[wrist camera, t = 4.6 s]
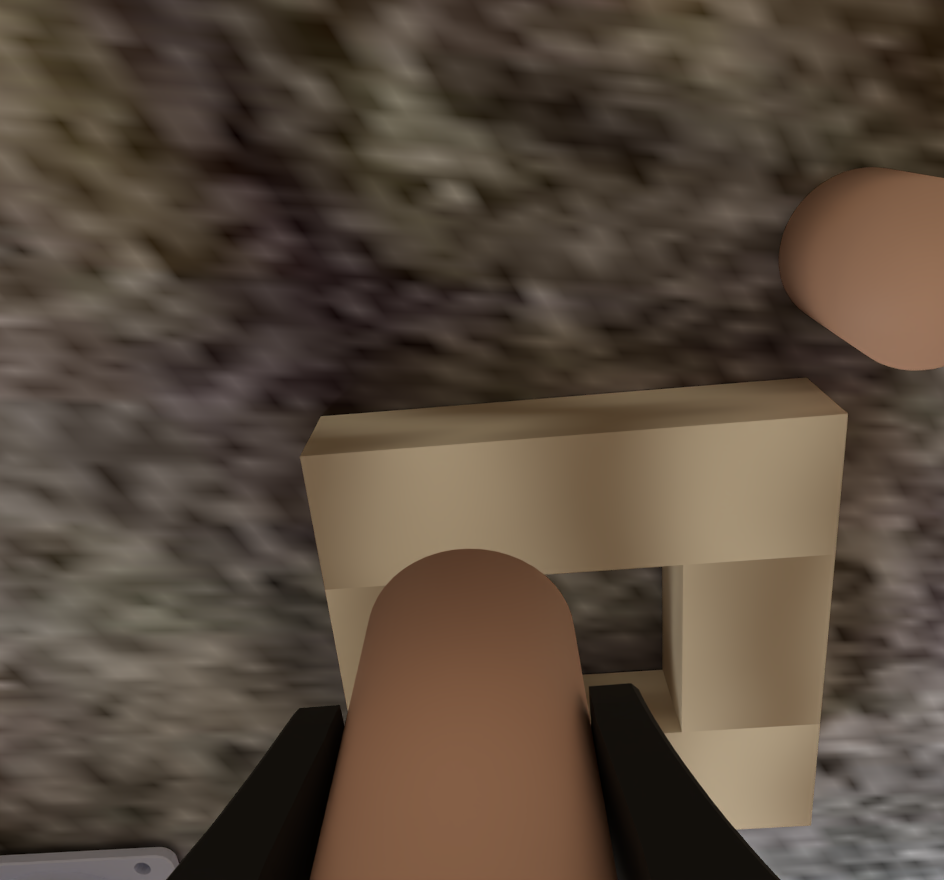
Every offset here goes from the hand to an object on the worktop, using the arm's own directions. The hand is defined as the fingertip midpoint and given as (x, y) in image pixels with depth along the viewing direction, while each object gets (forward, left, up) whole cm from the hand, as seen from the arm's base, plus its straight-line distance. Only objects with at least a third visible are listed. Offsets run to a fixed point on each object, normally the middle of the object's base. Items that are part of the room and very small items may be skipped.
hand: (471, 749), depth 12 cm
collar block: (+2, -4, -10) cm, 11 cm away
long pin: (0, 0, -3) cm, 3 cm away
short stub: (+9, +5, -10) cm, 14 cm away
